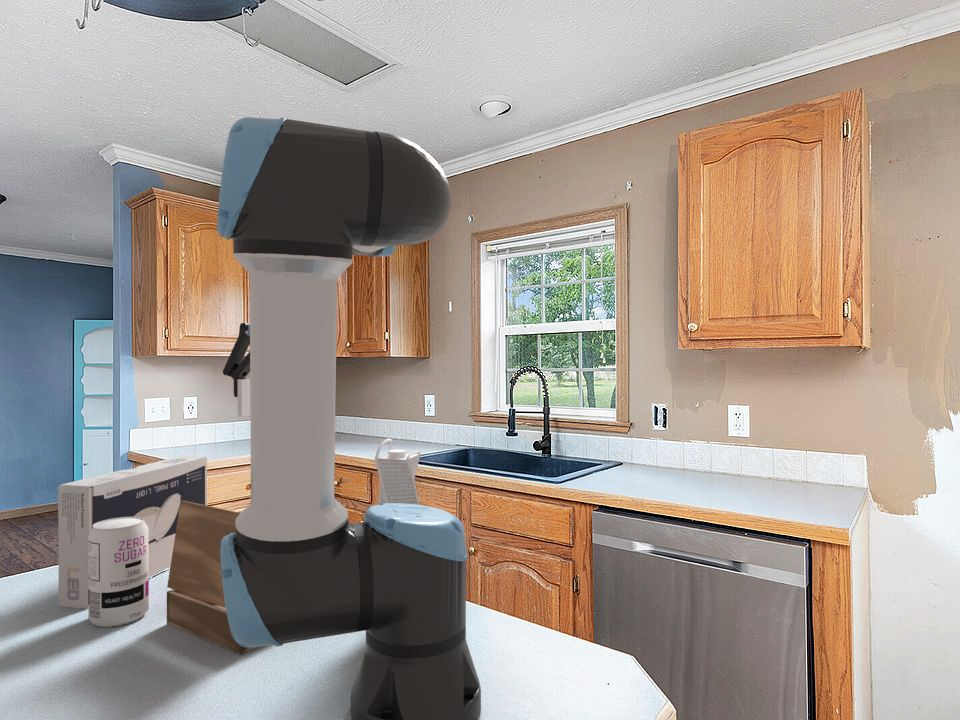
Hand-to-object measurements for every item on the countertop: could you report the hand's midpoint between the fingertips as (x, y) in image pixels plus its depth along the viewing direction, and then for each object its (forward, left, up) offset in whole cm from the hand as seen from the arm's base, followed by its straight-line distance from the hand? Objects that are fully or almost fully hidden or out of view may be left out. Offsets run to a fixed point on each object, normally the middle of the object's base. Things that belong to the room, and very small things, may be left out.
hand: (279, 416), depth 107 cm
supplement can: (-1, +24, -31) cm, 39 cm away
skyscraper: (-19, -16, -31) cm, 40 cm away
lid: (-14, +12, -25) cm, 32 cm away
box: (-10, +6, -31) cm, 33 cm away
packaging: (+19, +23, -31) cm, 43 cm away
